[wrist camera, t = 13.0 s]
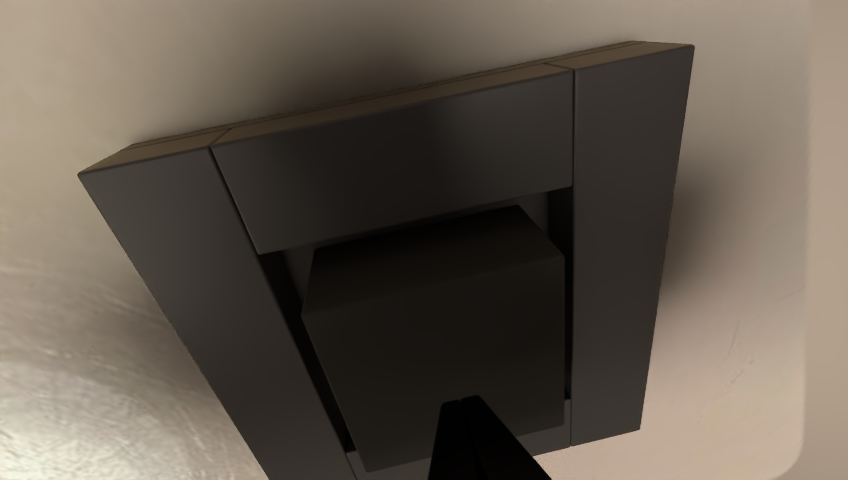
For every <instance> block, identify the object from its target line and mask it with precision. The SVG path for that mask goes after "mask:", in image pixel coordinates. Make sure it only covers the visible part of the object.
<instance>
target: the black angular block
mask: <svg viewBox="0 0 848 480" xmlns="http://www.w3.org/2000/svg"><path fill="white" fill-rule="evenodd" d="M301 318H302V320H303V322H304V325H305V327H306V330H307V332H308V334H309V337H310V339H311V342H312V344H313V346H314V349H315V351H316V354H317V356H318V358H319V361H320V363H321V366H322V368H323V370H324V373H325V375H326V378H327V380H328V382H329V385H330V387H331V390H332V392H333V394H334V397H335V399H336V402H337V404H338V406H339V409H340V411H341V414H342V416H343V418H344V421H345V423H346V426H347V428H348V430H349V433H350V435H351V438H352V440H353V442H354V445H355V447H356V450H357V452H358V454H359V457H360V459H361V462H362V464H363V466H364V469H365V471H366V472H367V473H370V472H374V471H378V470H382V469H386V468H390V467H394V466H399V465H403V464H407V463H411V462H415V461H419V460H423V459H427V458H431V457H432V452H433V446H434V441H435V435H436V430H437V424H438V419H439V413H440V408H441V405H442V403H444V402H448V401H452V400H456V399H457V400H459V401H460V402H461V399H462V398H464V397H469V396H473V395H479V396H480V397H481V398H482V399H483V400H484V401H485V402H486V403H487V405H488V406H489V407H490V408H491V409H492V410H493V412H494V413H495V414H496V415H497V416H498V417H499V419H500V420H501V421H502V422H503V423H504V424H505V426H506V427H507V428H508V429H509V430H510V431H511V433H512V434H513V435H514V436H515V437H518V436H522V435H526V434H530V433H534V432H538V431H543V430H547V429H551V428H555V427H559V426H563V425H564V384H565V258H564V255H563V254H562V253H561V252H560V250H559V249H558V248H557V247H556V246H555V245H554V244H553V243H552V241H551V240H550V239H549V238H548V237H547V236H546V235H545V234H544V232H543V231H542V230H541V229H540V228H539V227H538V226H537V224H536V223H535V222H534V221H533V220H532V219H531V218H530V217H529V215H528V214H527V213H526V212H525V211H524V210H523V209H522V207H521V206H520V205H515V206H510V207H506V208H501V209H497V210H492V211H487V212H483V213H478V214H474V215H469V216H465V217H460V218H456V219H451V220H446V221H442V222H437V223H433V224H428V225H424V226H419V227H415V228H410V229H405V230H401V231H396V232H392V233H387V234H383V235H378V236H374V237H369V238H364V239H360V240H355V241H351V242H346V243H342V244H337V245H333V246H328V247H323V248H319V249H316V250H314V254H313V259H312V264H311V269H310V274H309V279H308V283H307V288H306V293H305V298H304V303H303V308H302V313H301Z"/></svg>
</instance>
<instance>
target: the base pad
mask: <svg viewBox="0 0 848 480" xmlns="http://www.w3.org/2000/svg"><path fill="white" fill-rule="evenodd" d="M694 49H695V46H694V45H692V44H676V43H660V42H644V41H630V42H625V43H620V44H615V45H610V46H605V47H601V48H596V49H591V50H586V51H581V52H576V53H572V54H567V55H562V56H557V57H552V58H547V59H543V60H538V61H533V62H528V63H523V64H518V65H514V66H509V67H504V68H499V69H494V70H489V71H485V72H480V73H475V74H470V75H465V76H460V77H456V78H451V79H446V80H441V81H436V82H431V83H427V84H422V85H417V86H412V87H407V88H402V89H398V90H393V91H388V92H383V93H378V94H373V95H369V96H364V97H359V98H354V99H349V100H344V101H340V102H335V103H330V104H325V105H320V106H316V107H311V108H306V109H301V110H296V111H291V112H287V113H282V114H277V115H272V116H267V117H262V118H258V119H253V120H248V121H243V122H238V123H233V124H229V125H224V126H219V127H214V128H209V129H204V130H200V131H195V132H190V133H185V134H180V135H175V136H171V137H166V138H161V139H156V140H151V141H146V142H142V143H137V144H132V145H130V146H128V147H126V148H124V149H122V150H120V151H119V152H117V153H115V154H113V155H111V156H109V157H107V158H105V159H103V160H102V161H100V162H98V163H96V164H94V165H92V166H90V167H88V168H86V169H84V170H82V171H81V172H79V173H78V174H77V175H78V178H79V179H80V181H81V183H82V184H83V186H84V187H85V189H86V190H87V192H88V194H89V195H90V197H91V198H92V200H93V202H94V203H95V205H96V206H97V208H98V209H99V211H100V213H101V214H102V216H103V217H104V219H105V221H106V222H107V224H108V225H109V227H110V228H111V230H112V232H113V233H114V235H115V236H116V238H117V240H118V241H119V243H120V244H121V246H122V247H123V249H124V251H125V252H126V254H127V255H128V257H129V258H130V260H131V262H132V263H133V265H134V266H135V268H136V270H137V271H138V273H139V274H140V276H141V277H142V279H143V281H144V282H145V284H146V285H147V287H148V289H149V290H150V292H151V293H152V295H153V296H154V298H155V300H156V301H157V303H158V304H159V306H160V307H161V309H162V311H163V312H164V314H165V315H166V317H167V319H168V320H169V322H170V323H171V325H172V326H173V328H174V330H175V331H176V333H177V334H178V336H179V338H180V339H181V341H182V342H183V344H184V345H185V347H186V349H187V350H188V352H189V353H190V355H191V357H192V358H193V360H194V361H195V363H196V364H197V366H198V368H199V369H200V371H201V372H202V374H203V375H204V377H205V379H206V380H207V382H208V383H209V385H210V387H211V388H212V390H213V391H214V393H215V394H216V396H217V398H218V399H219V401H220V402H221V404H222V406H223V407H224V409H225V410H226V412H227V413H228V415H229V417H230V418H231V420H232V421H233V423H234V425H235V426H236V428H237V429H238V431H239V432H240V434H241V436H242V437H243V439H244V440H245V442H246V443H247V445H248V447H249V448H250V450H251V451H252V453H253V455H254V456H255V458H256V459H257V461H258V462H259V464H260V466H261V467H262V469H263V470H264V472H265V474H266V475H267V477H268V478H269V480H427V479H428V474H429V468H430V463H431V458H427V459H423V460H419V461H415V462H411V463H407V464H403V465H399V466H394V467H390V468H386V469H382V470H378V471H374V472H370V473H367V472H366V471H365V469H364V466H363V464H362V462H361V459H360V457H359V454H358V452H357V450H356V447H355V445H354V442H353V440H352V438H351V435H350V433H349V430H348V428H347V426H346V423H345V421H344V418H343V416H342V414H341V411H340V409H339V406H338V404H337V402H336V399H335V397H334V394H333V392H332V390H331V387H330V385H329V382H328V380H327V378H326V375H325V373H324V370H323V368H322V366H321V363H320V361H319V358H318V356H317V354H316V351H315V349H314V346H313V344H312V342H311V339H310V337H309V334H308V332H307V330H306V327H305V325H304V322H303V320H302V318H301V313H302V308H303V303H304V298H305V293H306V288H307V283H308V279H309V274H310V269H311V264H312V259H313V254H314V250H316V249H319V248H323V247H328V246H333V245H337V244H342V243H346V242H351V241H355V240H360V239H364V238H369V237H374V236H378V235H383V234H387V233H392V232H396V231H401V230H405V229H410V228H415V227H419V226H424V225H428V224H433V223H437V222H442V221H446V220H451V219H456V218H460V217H465V216H469V215H474V214H478V213H483V212H487V211H492V210H497V209H501V208H506V207H510V206H515V205H520V206H521V207H522V209H523V210H524V211H525V212H526V213H527V214H528V215H529V217H530V218H531V219H532V220H533V221H534V222H535V223H536V224H537V226H538V227H539V228H540V229H541V230H542V231H543V232H544V234H545V235H546V236H547V237H548V238H549V239H550V240H551V241H552V243H553V244H554V245H555V246H556V247H557V248H558V249H559V250H560V252H561V253H562V254H563V255H564V258H565V384H564V425H563V426H559V427H555V428H551V429H547V430H543V431H538V432H534V433H530V434H526V435H522V436H518V437H516V438H517V440H518V441H519V442H520V443H521V444H522V445H523V446H524V448H525V449H526V450H527V451H528V452H529V453H530V455H531V456H536V455H540V454H544V453H548V452H552V451H556V450H560V449H564V448H568V447H570V445H571V446H576V445H580V444H584V443H588V442H592V441H596V440H601V439H605V438H609V437H613V436H617V435H621V434H625V433H629V432H633V431H637V430H639V429H640V425H641V418H642V411H643V404H644V397H645V390H646V383H647V376H648V369H649V362H650V355H651V348H652V342H653V335H654V328H655V321H656V314H657V307H658V300H659V293H660V286H661V279H662V272H663V265H664V258H665V251H666V244H667V237H668V230H669V223H670V216H671V209H672V202H673V195H674V188H675V181H676V174H677V167H678V160H679V153H680V147H681V140H682V133H683V126H684V119H685V112H686V105H687V98H688V91H689V84H690V77H691V70H692V63H693V56H694Z"/></svg>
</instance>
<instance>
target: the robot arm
mask: <svg viewBox="0 0 848 480" xmlns="http://www.w3.org/2000/svg"><path fill="white" fill-rule="evenodd" d="M427 480H552V479H551V478H550V477H549V476H548V474H547V473H546V472H545V471H544V470H543V469H542V467H541V466H540V465H539V464H538V463H537V462H536V460H535V459H534V458H533V457H532V456H531V455H530V453H529V452H528V451H527V450H526V449H525V448H524V446H523V445H522V444H521V443H520V442H519V441H518V440H517V438H516V437H515V436H514V435H513V434H512V433H511V431H510V430H509V429H508V428H507V427H506V426H505V424H504V423H503V422H502V421H501V420H500V419H499V417H498V416H497V415H496V414H495V413H494V412H493V410H492V409H491V408H490V407H489V406H488V405H487V403H486V402H485V401H484V400H483V399H482V398H481V397H480V396H479V395H473V396H469V397H464V398H462V399H461V402H460V401H459V400H457V399H456V400H452V401H448V402H444V403H442V405H441V408H440V413H439V419H438V424H437V430H436V435H435V441H434V446H433V452H432V457H431V463H430V468H429V474H428V479H427Z"/></svg>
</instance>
